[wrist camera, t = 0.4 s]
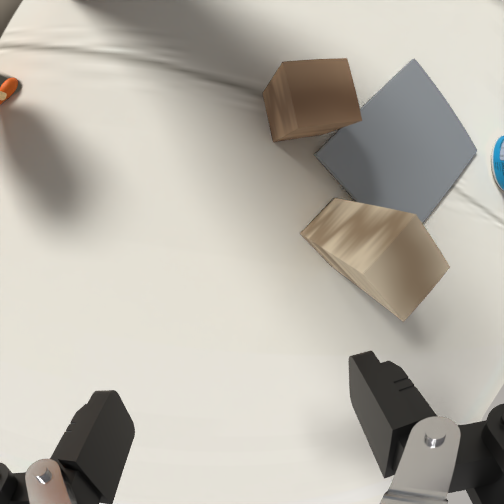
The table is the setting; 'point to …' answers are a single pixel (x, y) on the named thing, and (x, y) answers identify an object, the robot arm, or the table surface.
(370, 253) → the beech block
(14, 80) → the toy figure
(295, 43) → the table surface
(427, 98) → the slate mat
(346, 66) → the walnut block
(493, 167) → the beverage bottle
